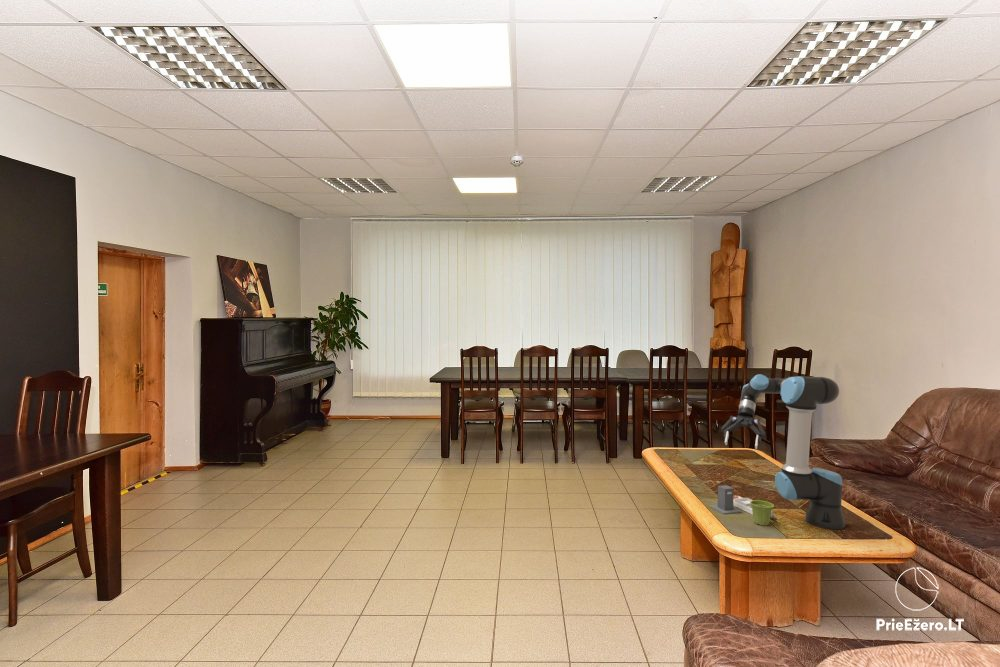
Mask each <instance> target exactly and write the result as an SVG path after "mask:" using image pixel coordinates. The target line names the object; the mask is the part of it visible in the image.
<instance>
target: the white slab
mask: <svg viewBox="0 0 1000 667" xmlns="http://www.w3.org/2000/svg"><path fill="white" fill-rule="evenodd" d="M753 500H754V499H751V498H749V497H742V496H740V495H736V494H735V495H734V500H733V507H735V508H737V509H739V510H741V511H745V512H747V513H748V514H751V515H752V516H753V512H752V507H751V504H750V501H753ZM773 513H774V512H773V510H772V511H771V516H770V520H774V521H777V520H778V518H777V517H775V516H773V515H774V514H773Z"/></svg>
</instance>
